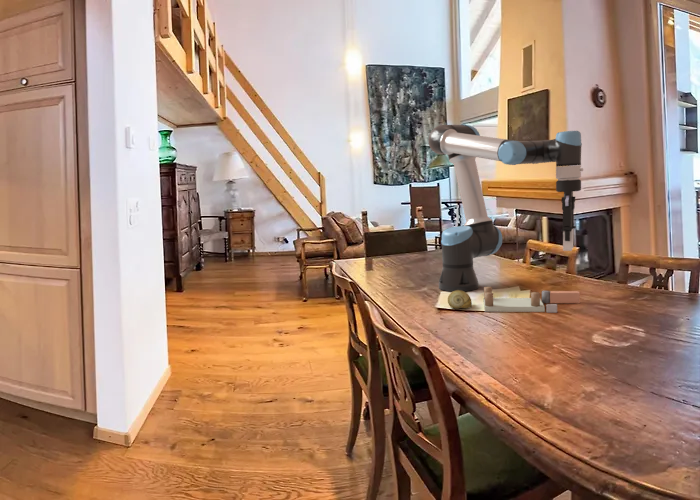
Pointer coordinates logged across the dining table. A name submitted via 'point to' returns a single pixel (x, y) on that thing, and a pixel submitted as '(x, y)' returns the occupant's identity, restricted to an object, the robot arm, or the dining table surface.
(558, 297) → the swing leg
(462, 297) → the seashell
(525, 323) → the dining table surface
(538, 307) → the pale board with pegs
